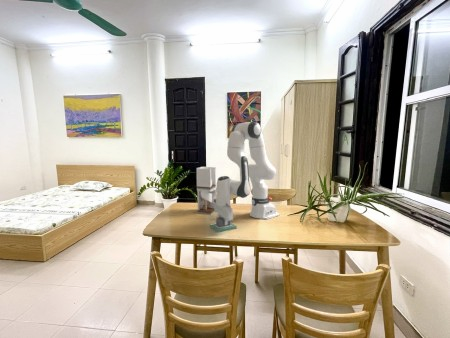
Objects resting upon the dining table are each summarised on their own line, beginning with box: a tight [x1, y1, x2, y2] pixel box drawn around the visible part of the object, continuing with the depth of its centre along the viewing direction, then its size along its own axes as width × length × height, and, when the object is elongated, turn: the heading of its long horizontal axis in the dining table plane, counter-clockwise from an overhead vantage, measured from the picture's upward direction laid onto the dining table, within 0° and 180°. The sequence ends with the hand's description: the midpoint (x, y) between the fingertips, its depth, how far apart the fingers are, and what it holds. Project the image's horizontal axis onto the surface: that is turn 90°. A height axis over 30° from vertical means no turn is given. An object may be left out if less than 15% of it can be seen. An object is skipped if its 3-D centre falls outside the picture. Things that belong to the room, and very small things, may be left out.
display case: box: [196, 166, 217, 216], centre depth 176 cm, size 11×11×35 cm
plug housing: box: [215, 216, 231, 228], centre depth 146 cm, size 8×4×5 cm, turn 117°
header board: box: [209, 221, 238, 233], centre depth 146 cm, size 14×10×2 cm
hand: (223, 222), depth 146 cm, fingers open, 5 cm apart
